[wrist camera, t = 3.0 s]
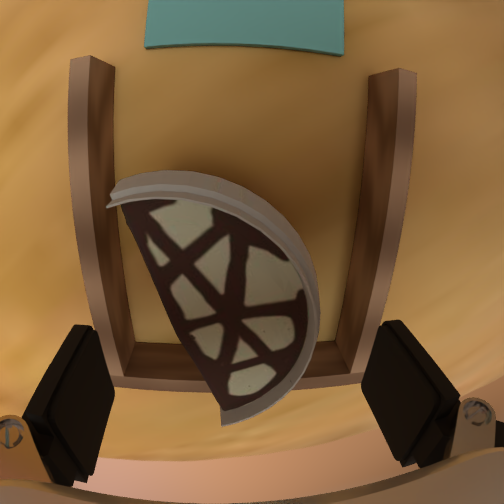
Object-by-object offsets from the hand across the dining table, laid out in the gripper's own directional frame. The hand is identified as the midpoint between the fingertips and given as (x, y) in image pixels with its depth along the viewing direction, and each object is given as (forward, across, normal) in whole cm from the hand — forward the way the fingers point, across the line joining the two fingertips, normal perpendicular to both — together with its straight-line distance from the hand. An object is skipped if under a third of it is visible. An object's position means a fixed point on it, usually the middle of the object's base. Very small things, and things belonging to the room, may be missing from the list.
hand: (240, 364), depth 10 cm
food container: (+12, -1, 0) cm, 12 cm away
